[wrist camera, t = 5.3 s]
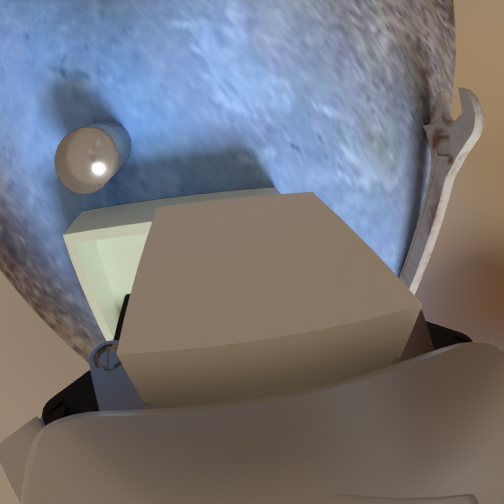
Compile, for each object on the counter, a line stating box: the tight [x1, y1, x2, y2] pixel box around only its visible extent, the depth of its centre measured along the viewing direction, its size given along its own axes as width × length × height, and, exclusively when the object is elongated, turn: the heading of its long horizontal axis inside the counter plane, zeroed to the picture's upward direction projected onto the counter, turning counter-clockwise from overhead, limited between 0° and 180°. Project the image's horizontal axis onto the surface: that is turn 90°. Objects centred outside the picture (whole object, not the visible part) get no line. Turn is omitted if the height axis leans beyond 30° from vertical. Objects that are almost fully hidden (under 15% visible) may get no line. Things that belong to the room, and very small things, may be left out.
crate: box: [63, 187, 280, 341], centre depth 29 cm, size 16×20×5 cm
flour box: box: [117, 192, 422, 409], centre depth 9 cm, size 6×6×7 cm
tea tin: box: [55, 120, 131, 194], centre depth 21 cm, size 5×5×6 cm
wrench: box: [399, 88, 484, 295], centre depth 30 cm, size 8×2×30 cm
